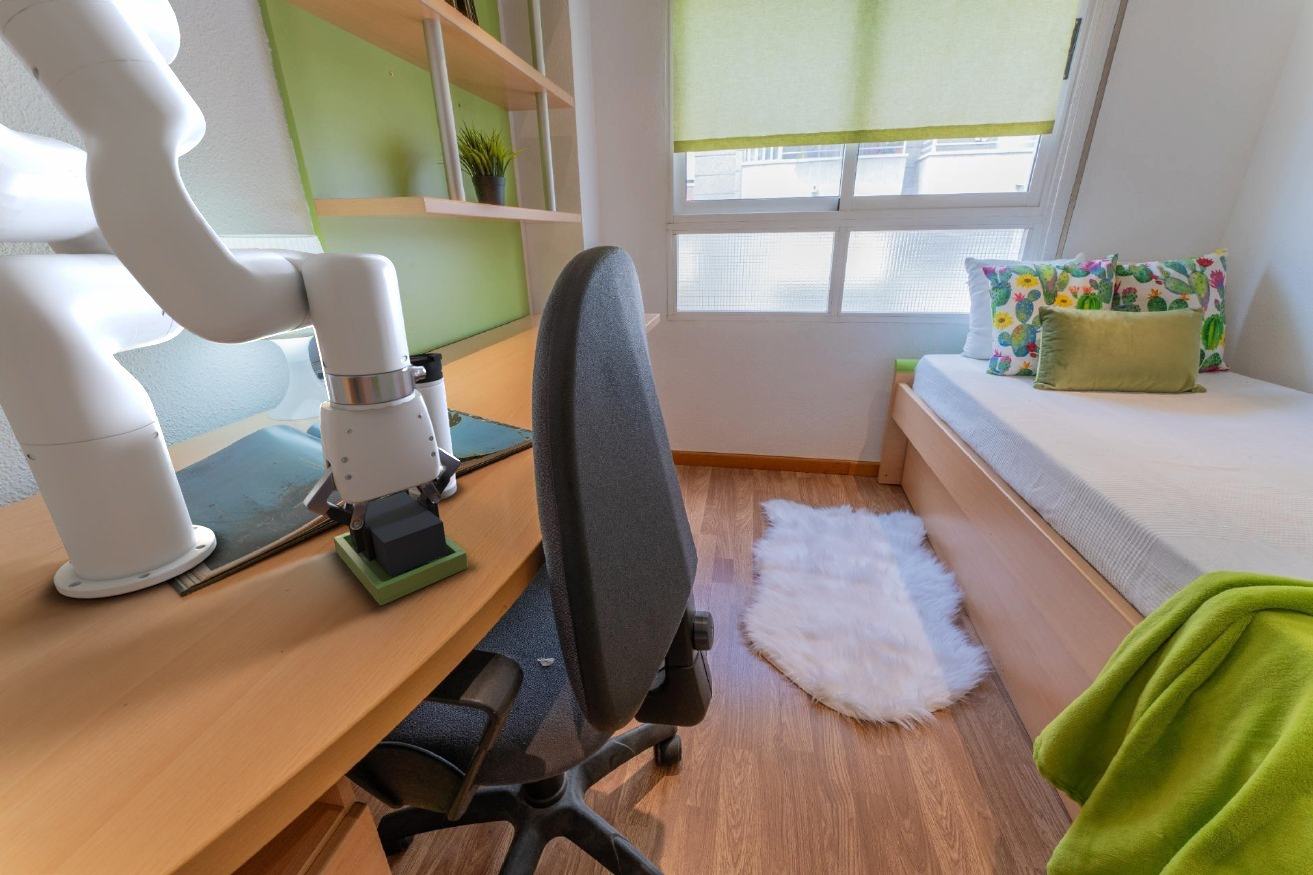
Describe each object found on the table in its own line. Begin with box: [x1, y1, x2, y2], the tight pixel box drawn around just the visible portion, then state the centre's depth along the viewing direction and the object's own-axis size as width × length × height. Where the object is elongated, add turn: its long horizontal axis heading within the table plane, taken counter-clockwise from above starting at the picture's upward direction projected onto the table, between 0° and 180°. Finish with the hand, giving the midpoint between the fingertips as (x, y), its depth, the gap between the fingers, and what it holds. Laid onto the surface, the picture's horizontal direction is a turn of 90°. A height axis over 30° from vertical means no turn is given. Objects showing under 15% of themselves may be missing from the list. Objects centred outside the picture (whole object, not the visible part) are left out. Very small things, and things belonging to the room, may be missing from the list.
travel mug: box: [408, 352, 458, 501], centre depth 70 cm, size 6×7×20 cm
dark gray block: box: [365, 491, 448, 577], centre depth 57 cm, size 10×6×4 cm, turn 46°
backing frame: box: [332, 531, 469, 607], centre depth 58 cm, size 13×9×2 cm
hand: (399, 541), depth 57 cm, fingers closed on dark gray block, 6 cm apart
